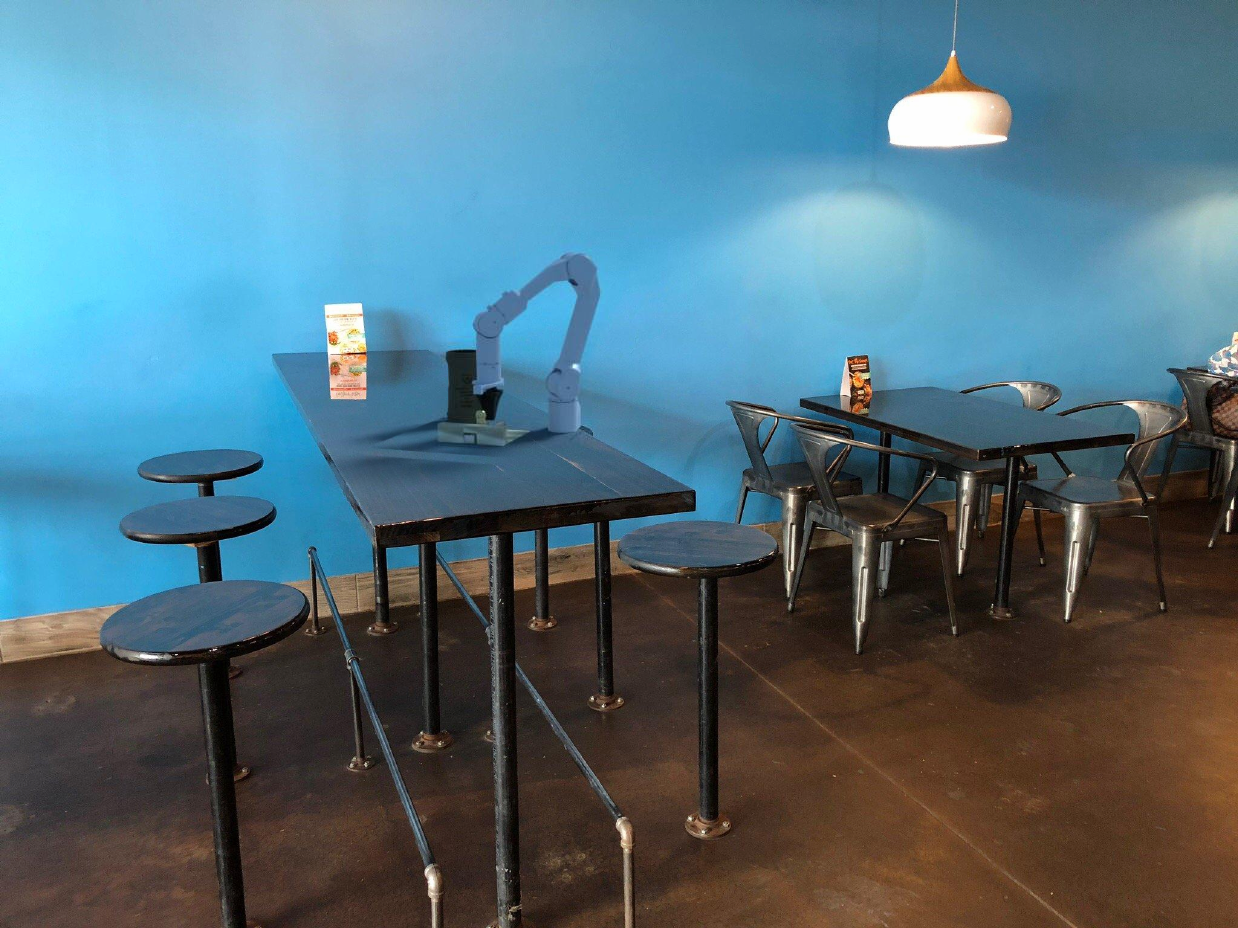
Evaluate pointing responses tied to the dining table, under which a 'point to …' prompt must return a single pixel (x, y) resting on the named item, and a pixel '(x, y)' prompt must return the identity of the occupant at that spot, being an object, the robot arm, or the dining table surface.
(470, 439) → the bolt
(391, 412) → the dining table surface
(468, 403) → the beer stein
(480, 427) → the door board
